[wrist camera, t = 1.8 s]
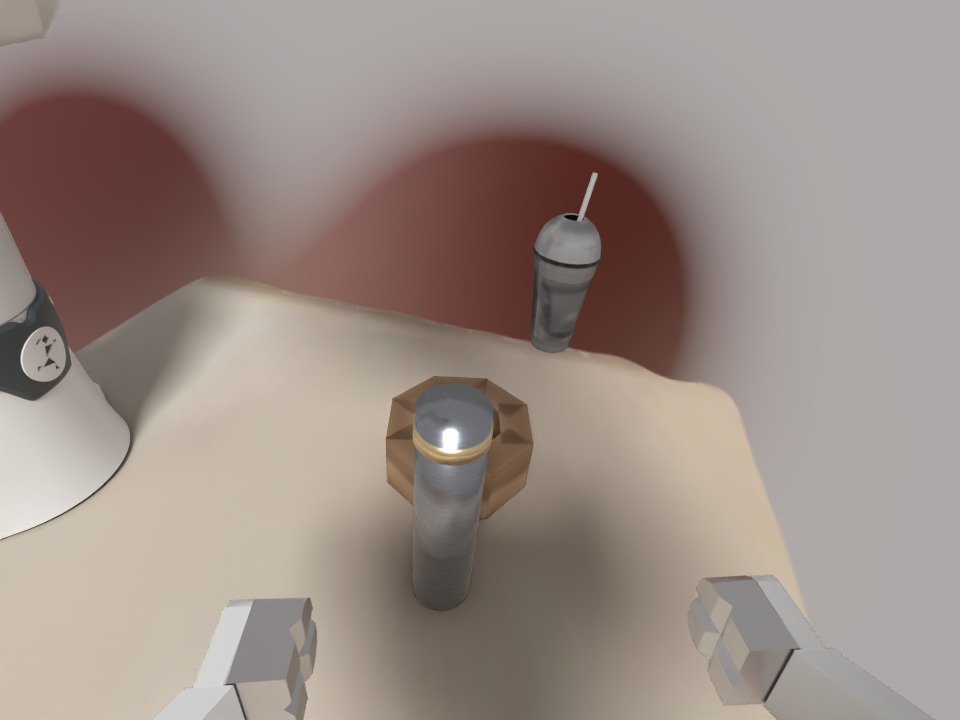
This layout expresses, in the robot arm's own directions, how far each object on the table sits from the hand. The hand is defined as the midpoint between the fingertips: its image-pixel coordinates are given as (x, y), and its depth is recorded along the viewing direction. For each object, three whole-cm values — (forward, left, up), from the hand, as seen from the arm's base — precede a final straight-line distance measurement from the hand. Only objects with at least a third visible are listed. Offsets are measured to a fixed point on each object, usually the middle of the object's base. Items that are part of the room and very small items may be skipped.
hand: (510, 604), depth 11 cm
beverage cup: (+11, +45, -23) cm, 52 cm away
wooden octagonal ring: (0, +25, -23) cm, 34 cm away
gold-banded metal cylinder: (-1, +14, -23) cm, 27 cm away
